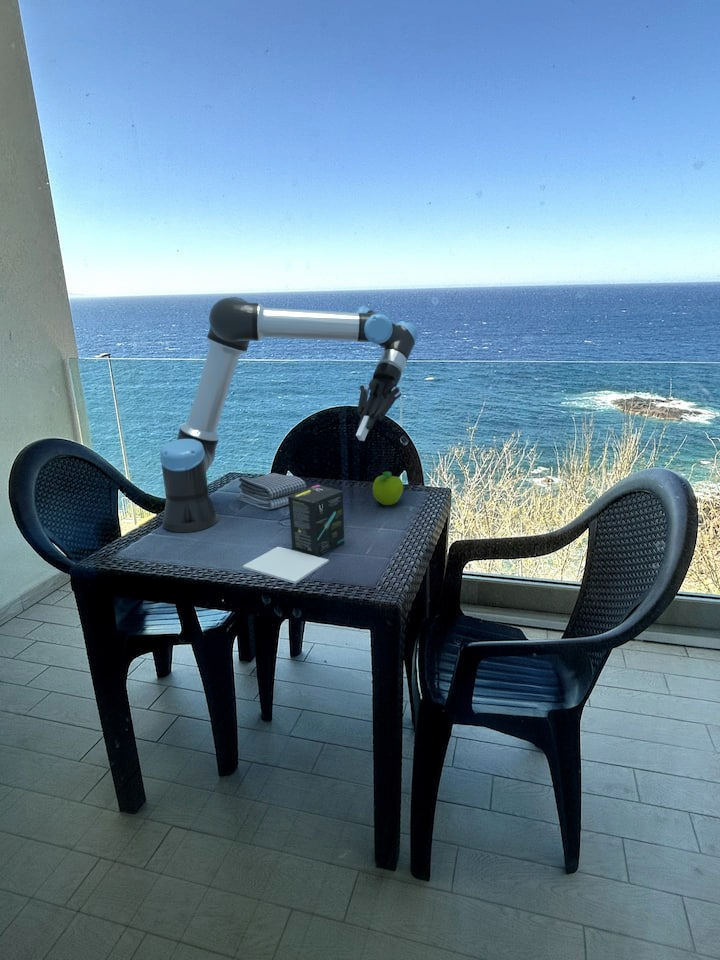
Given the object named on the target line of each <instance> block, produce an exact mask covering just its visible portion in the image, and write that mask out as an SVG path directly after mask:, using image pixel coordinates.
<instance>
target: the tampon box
mask: <svg viewBox="0 0 720 960" xmlns="http://www.w3.org/2000/svg"><path fill="white" fill-rule="evenodd" d="M288 500H289V504H288V508H289V509H288V511H289V512H288V513H289V523H290V524H289V525H290V534H291V535H290V536H291V537H290V538H291V548H292V549H294V550H295V551H298V552H301V553H305V554H309V555H313V556H316V557H321V556H322V555H324V554H326V553H328V552H330V551H332V550H334V549H336V548H338V547H340V546H342V545H343V544H344V545H345V521H344V519H345V518H344V491H343V490H342V489H341V490H340V489H336V488H333V487H328V486H325V485H324V486H323V485H321V484H316V485H313V486H311V487H308V488H306V489H305V490H302V491H300V492H297V493H294V494H292V495H289V496H288Z"/></svg>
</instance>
